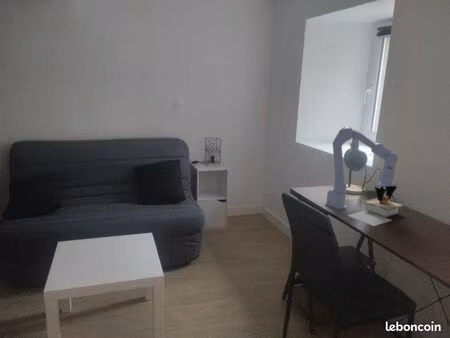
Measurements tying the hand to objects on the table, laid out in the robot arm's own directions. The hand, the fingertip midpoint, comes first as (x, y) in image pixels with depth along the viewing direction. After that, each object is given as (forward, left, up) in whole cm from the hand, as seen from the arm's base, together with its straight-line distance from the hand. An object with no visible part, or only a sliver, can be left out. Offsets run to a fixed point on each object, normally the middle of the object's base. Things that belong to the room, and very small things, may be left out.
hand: (384, 199), depth 183 cm
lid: (0, 0, -3) cm, 3 cm away
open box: (0, 0, -7) cm, 7 cm away
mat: (+2, -14, -7) cm, 16 cm away
